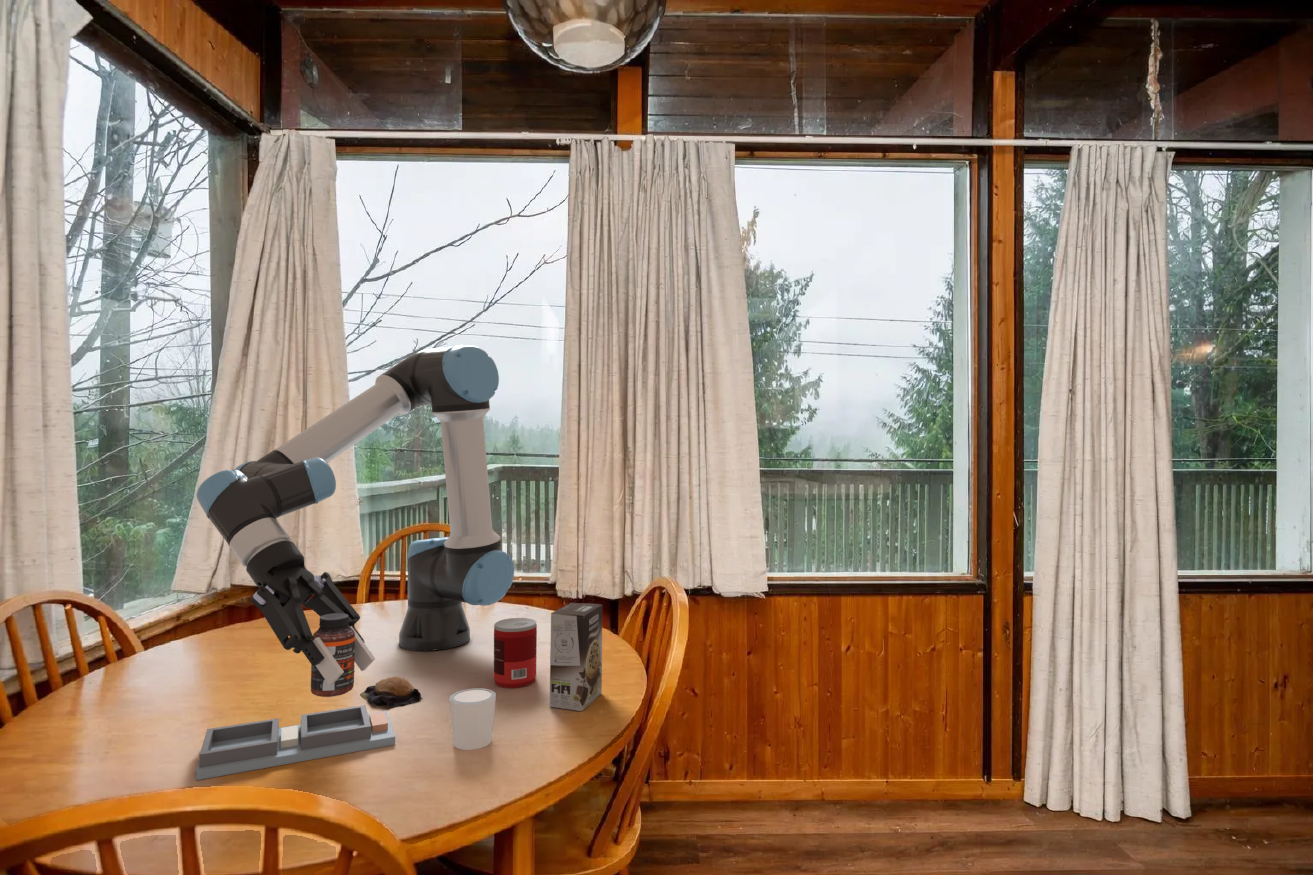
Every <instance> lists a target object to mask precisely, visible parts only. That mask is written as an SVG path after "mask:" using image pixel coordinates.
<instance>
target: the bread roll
mask: <svg viewBox="0 0 1313 875" xmlns="http://www.w3.org/2000/svg"><path fill="white" fill-rule="evenodd" d="M360 697H362V698H363V699H364V700H365V701H366V702H368V703H369V704H371V705H372V706H375V707H376V708H379V709H380V710H382V711H388V710H392V709H395V708H399V707H404V706H409V705H412V704H416V703H418V702H420V701H421V700H422V701H423V700H424V698H423V697H422V694H421V692H420V691H419V689H417V688H415V687H414V686H413V685H412V684H411V683H410V682H409V681H408V679H406V678H404V677H400V676H390V677H387V678H384V679H381V680H379V681H378V682H376V683H375V685H370V686H367V687H366V689H365V690H364V691H363V692H361V693H360Z"/></svg>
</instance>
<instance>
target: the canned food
mask: <svg viewBox="0 0 1313 875" xmlns="http://www.w3.org/2000/svg"><path fill="white" fill-rule="evenodd" d="M537 625H538V624H537V621H536V620H535V619H532V618H527V617H511V618H505V619H504V618H503V619H501V620H498V621H496V622H495V623H494V625H493V626H494V627H493V680H494V684H495V685H496V686H498V687H500V688H504V689H505V688H506V689H517V688H523V687H527V686H530V685H532V684H533V683H534V682H535V681H536V677H537V646H538V645H537V642H538V641H537V640H538V639H537V638H538V637H537V635H538V633H537V632H538V629H537V627H538V626H537Z"/></svg>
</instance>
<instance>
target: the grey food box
mask: <svg viewBox="0 0 1313 875" xmlns="http://www.w3.org/2000/svg"><path fill="white" fill-rule="evenodd" d="M549 650H550V651H549V653H550V655H549V657H550V659H549V661H550V662H549V664H550V665H549V666H550V668H549V670H550V672H549V708H556V709H564V710H570V711H576V712H583V711H584V710H585V709H586V708H587V707H588V706H590V705H591V704H592V703H593V702H594V701H595V700H596V699H597V698H598V697H599V696H600V695H601V694H602V692H603V690H602V689H603V687H602V686H603V684H602V683H603V679H602V678H603V604H601V603H588V602H587V603H584V602H583V603H581V602H580V603H579V602H578V603H577V602H570V603H568V604H566V605H565V606H562V607H561V608H558V609H556V610H555V611H553V612H551V613H550V649H549Z"/></svg>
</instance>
